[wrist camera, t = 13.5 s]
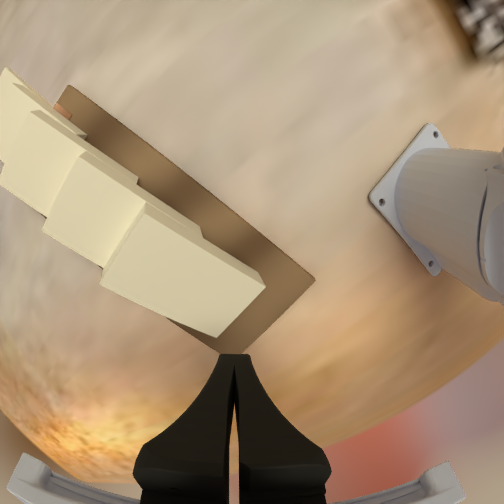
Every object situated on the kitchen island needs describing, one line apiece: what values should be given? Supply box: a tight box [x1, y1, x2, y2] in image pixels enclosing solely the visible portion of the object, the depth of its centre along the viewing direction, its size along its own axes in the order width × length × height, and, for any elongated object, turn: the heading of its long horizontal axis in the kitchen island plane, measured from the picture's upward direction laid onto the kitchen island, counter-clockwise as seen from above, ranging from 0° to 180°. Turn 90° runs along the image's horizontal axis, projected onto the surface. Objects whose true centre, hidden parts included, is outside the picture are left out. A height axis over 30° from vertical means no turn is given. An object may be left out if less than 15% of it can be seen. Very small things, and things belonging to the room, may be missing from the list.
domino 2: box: [0, 83, 87, 164], centre depth 14 cm, size 2×5×8 cm
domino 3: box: [0, 110, 139, 217], centre depth 14 cm, size 2×5×8 cm
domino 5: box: [100, 202, 266, 338], centre depth 16 cm, size 2×5×8 cm
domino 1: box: [0, 67, 54, 108], centre depth 14 cm, size 2×5×8 cm
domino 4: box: [42, 151, 203, 268], centre depth 15 cm, size 2×5×8 cm
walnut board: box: [42, 85, 316, 354], centre depth 18 cm, size 22×9×1 cm, turn 50°
